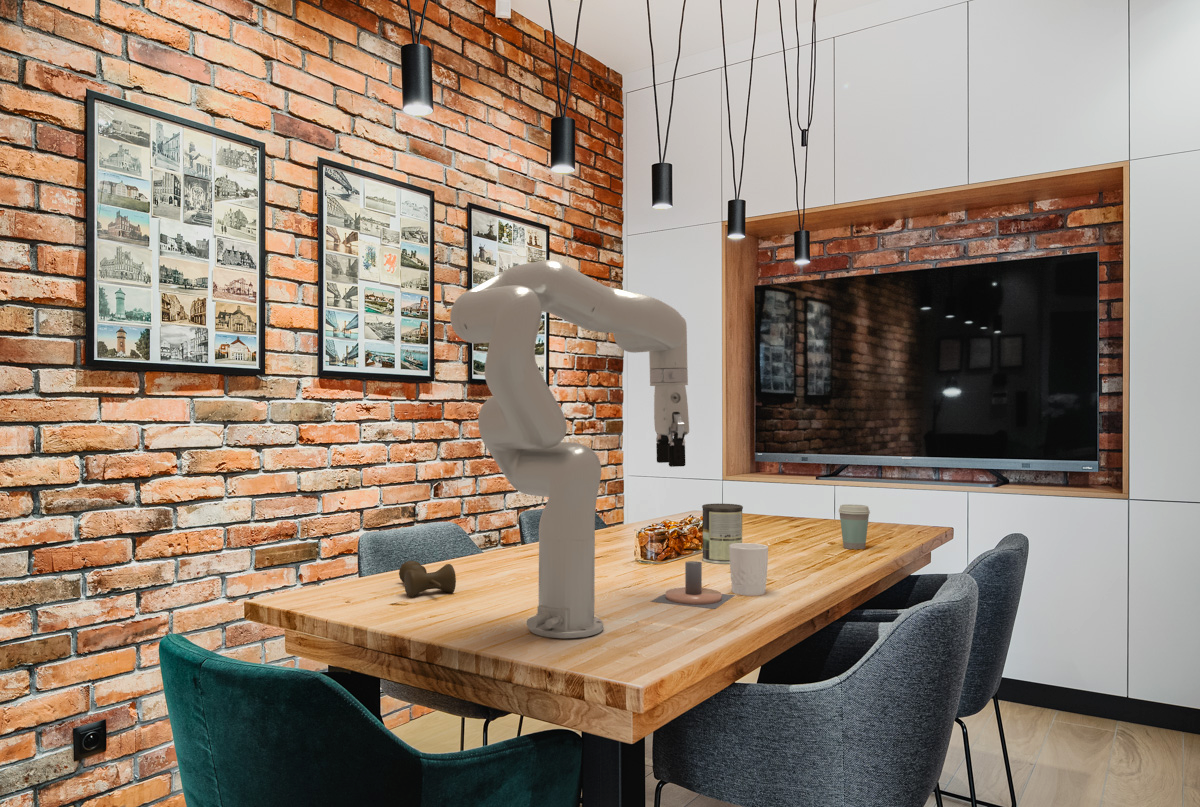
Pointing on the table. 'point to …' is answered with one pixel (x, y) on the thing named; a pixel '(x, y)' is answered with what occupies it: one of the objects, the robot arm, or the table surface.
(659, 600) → the mat
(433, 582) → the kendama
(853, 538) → the coffee cup
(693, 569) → the lid
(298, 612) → the table surface
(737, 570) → the white cup
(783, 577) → the table surface
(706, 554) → the coffee can
